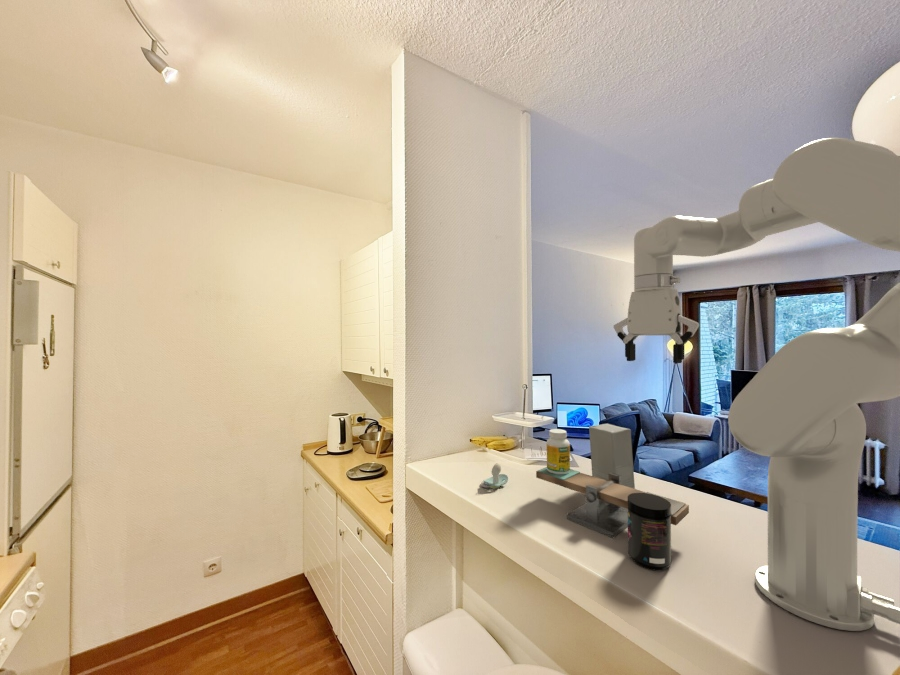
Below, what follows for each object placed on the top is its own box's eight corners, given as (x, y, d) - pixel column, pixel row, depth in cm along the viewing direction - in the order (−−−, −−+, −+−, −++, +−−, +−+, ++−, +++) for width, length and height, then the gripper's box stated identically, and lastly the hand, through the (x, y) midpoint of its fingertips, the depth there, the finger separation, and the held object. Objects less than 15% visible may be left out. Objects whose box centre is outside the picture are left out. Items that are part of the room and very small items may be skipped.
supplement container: (656, 548, 68) (656, 492, 68) (680, 572, 61) (680, 509, 61) (620, 549, 68) (620, 492, 68) (640, 573, 61) (640, 510, 61)
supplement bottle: (556, 465, 92) (556, 426, 92) (574, 472, 87) (574, 431, 87) (541, 470, 89) (541, 430, 89) (559, 477, 85) (559, 435, 84)
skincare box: (635, 492, 92) (635, 429, 92) (613, 497, 90) (613, 432, 89) (609, 480, 100) (609, 421, 100) (588, 484, 97) (588, 424, 97)
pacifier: (475, 487, 97) (492, 493, 93) (474, 463, 97) (491, 468, 93) (493, 479, 102) (511, 485, 97) (493, 456, 102) (510, 461, 98)
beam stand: (640, 516, 80) (640, 479, 80) (612, 538, 72) (612, 496, 72) (596, 500, 88) (596, 467, 88) (566, 518, 79) (566, 481, 79)
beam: (690, 512, 71) (690, 502, 71) (674, 528, 66) (674, 517, 66) (554, 470, 94) (554, 462, 94) (534, 479, 88) (534, 471, 88)
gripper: (704, 281, 78) (704, 363, 78) (621, 289, 91) (621, 359, 91) (692, 278, 73) (692, 365, 73) (607, 287, 86) (607, 360, 86)
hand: (653, 361), depth 82 cm, fingers open, 9 cm apart
